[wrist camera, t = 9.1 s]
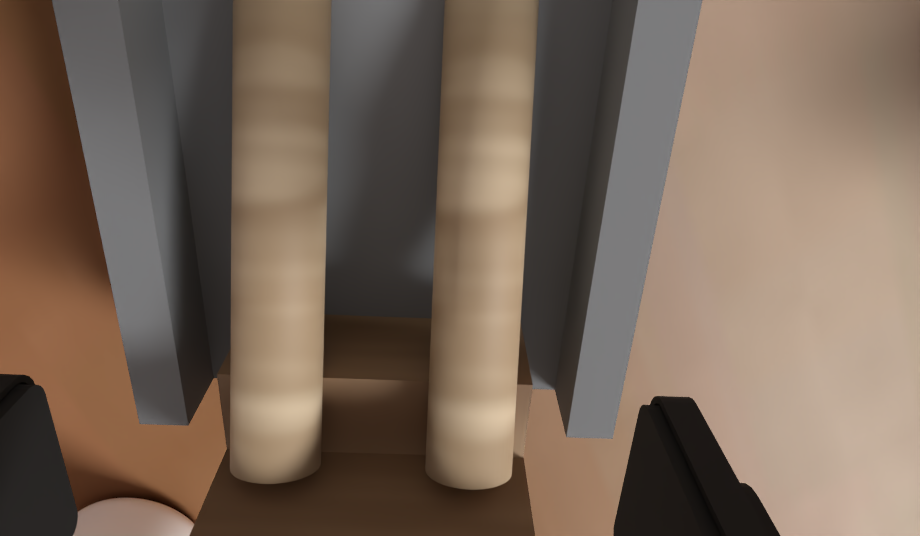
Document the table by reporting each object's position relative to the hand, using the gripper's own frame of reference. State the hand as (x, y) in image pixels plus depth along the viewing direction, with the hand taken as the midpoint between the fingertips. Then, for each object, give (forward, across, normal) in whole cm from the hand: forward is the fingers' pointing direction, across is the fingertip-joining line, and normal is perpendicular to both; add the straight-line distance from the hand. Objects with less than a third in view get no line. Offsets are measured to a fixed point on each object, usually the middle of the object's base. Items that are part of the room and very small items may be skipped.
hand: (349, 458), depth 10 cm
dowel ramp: (+9, 0, -2) cm, 9 cm away
